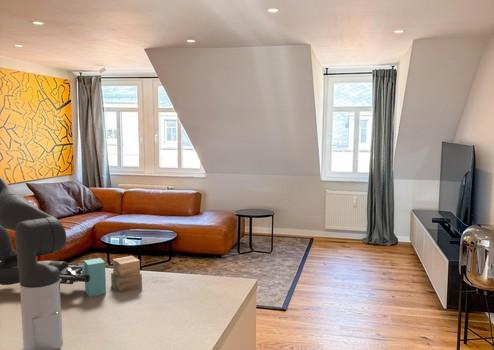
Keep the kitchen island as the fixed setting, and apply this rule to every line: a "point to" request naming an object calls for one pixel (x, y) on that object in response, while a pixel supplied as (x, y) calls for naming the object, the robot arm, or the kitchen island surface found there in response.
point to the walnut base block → (126, 282)
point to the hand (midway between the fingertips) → (95, 274)
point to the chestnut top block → (126, 266)
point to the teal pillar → (95, 277)
